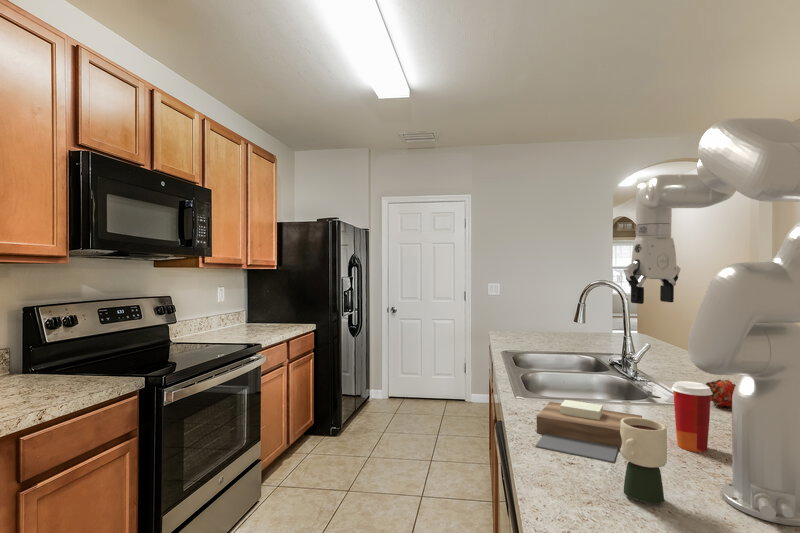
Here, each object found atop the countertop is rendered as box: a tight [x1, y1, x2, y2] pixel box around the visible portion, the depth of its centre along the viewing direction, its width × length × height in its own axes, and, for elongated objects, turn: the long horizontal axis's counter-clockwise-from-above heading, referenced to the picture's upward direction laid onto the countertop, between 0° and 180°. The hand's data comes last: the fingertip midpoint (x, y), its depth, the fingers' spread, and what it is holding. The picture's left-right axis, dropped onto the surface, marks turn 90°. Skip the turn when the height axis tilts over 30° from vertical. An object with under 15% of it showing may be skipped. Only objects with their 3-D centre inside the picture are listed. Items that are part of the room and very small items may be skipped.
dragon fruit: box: [705, 379, 736, 409], centre depth 130 cm, size 8×8×12 cm
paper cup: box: [670, 380, 713, 453], centre depth 100 cm, size 8×8×14 cm
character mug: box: [619, 417, 668, 505], centre depth 77 cm, size 11×7×13 cm, turn 125°
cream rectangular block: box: [560, 399, 604, 420], centre depth 111 cm, size 6×9×2 cm, turn 59°
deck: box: [536, 401, 643, 449], centre depth 109 cm, size 14×22×4 cm, turn 59°
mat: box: [534, 433, 619, 464], centre depth 100 cm, size 9×16×1 cm, turn 59°
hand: (652, 302), depth 108 cm, fingers open, 9 cm apart
